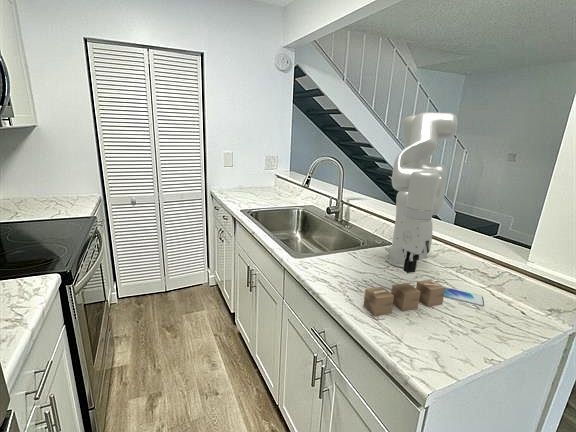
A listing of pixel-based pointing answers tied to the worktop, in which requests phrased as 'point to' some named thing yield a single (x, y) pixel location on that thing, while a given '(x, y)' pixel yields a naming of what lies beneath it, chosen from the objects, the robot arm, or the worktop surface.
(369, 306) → the block one
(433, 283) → the block seven
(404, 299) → the plain block
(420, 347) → the worktop surface
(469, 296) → the smartphone
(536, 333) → the worktop surface
